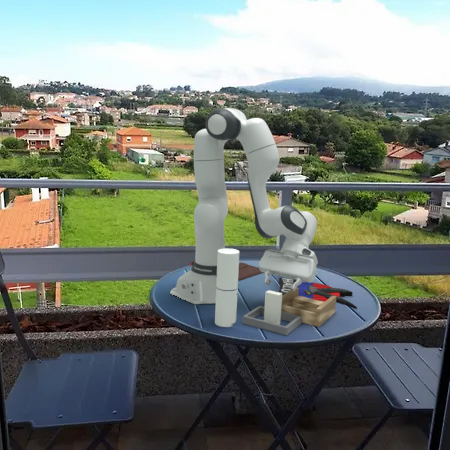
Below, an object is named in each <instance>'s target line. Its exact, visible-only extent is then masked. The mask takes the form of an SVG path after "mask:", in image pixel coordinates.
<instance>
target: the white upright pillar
mask: <svg viewBox="0 0 450 450" xmlns="http://www.w3.org/2000/svg"><path fill="white" fill-rule="evenodd" d="M281 306H282V293H279V291H275V290H270V289H268V290H266V291H265V295H264V307H265V309H264V315H263V320H264V321H267V322H271V323H275V324H279V325H281Z"/></svg>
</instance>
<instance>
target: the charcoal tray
mask: <svg viewBox="0 0 450 450" xmlns="http://www.w3.org/2000/svg"><path fill="white" fill-rule="evenodd" d="M264 309H265V306H262V305H258V306H257V307H256V308H254V309H252V310H251V311H249V312H247V313H246V314H244V315H243V316H242V324H243V325H246V326H250V327H253V328H257V329H260V330H261V329H262V330H264V331H268V332H272V333H276V334H279V335H283V336H288V335H290V334H291V333H292V332H293V331H294V330H295V329H297V328H298V327H299V326H300V325H301V324H302V322H301V321H302V316H298V315H294V314H290V313H286V312H282V311H281V320H283V321H286V322H289V323H287V325H283V324H280V325H279V324H275V323H271V322H267V321H264V319H259V318H256V317H258V316H260V315H263V316H264ZM281 320H280V321H281Z"/></svg>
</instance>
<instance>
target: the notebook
mask: <svg viewBox="0 0 450 450" xmlns="http://www.w3.org/2000/svg"><path fill="white" fill-rule="evenodd" d="M261 274H265V273H264V272H261V271H260V269H259V267H258V266H255V265H252V264H248V263H245V262H239V271H238V282H240V281H243V280H246V279H249V278H252V277H255V276H258V275H261Z"/></svg>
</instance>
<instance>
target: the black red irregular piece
mask: <svg viewBox="0 0 450 450" xmlns="http://www.w3.org/2000/svg"><path fill="white" fill-rule="evenodd" d="M296 281H297V280H295V279H291V278H286V277H279V278H278V283H279V290H278V292H279V293H282V296H283V295H284V294H286V293H287V292H289V291H290V286H291V284H294V283H295V282H296ZM296 288H299V293H298V296H303V297H306V298H310V299H314V300H318V301H322V302H325V301H326V300H328V299H329V298H330V297H331V296H337V297H336V304H340V305H344V306H348V307H350V308H352V309H355V310H358V307H357V305H355V304H353V303H352V302H350V301H349V300H347V299H344V298H346V297H345V296H352V297H353V291H350V290H348V289H344V288H338V287H333V286H330V285H327V284H323V283H318V282H314V281H313V282H311V283H308V282H304V281H302V283H301V284H300V285H299V286H297V287H296Z"/></svg>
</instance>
